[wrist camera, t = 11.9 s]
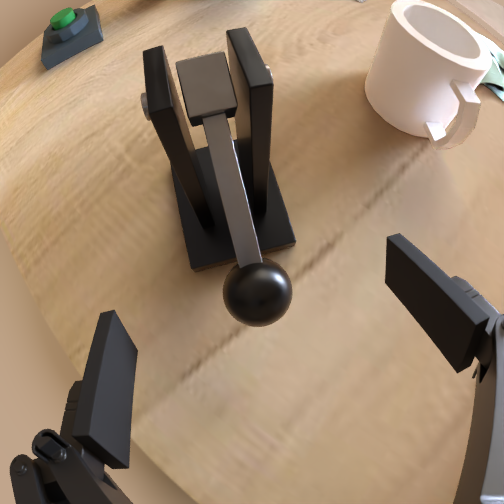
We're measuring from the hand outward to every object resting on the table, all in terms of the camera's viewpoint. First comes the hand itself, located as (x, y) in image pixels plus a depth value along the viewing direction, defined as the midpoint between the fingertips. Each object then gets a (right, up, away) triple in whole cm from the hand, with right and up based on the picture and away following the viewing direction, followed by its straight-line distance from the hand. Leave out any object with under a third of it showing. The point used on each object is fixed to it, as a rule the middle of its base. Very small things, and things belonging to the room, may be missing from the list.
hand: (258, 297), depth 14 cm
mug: (+16, +17, +14) cm, 28 cm away
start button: (-27, +34, +16) cm, 46 cm away
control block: (-27, +33, +19) cm, 47 cm away
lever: (-1, +5, +2) cm, 5 cm away
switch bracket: (-2, +6, +12) cm, 13 cm away
